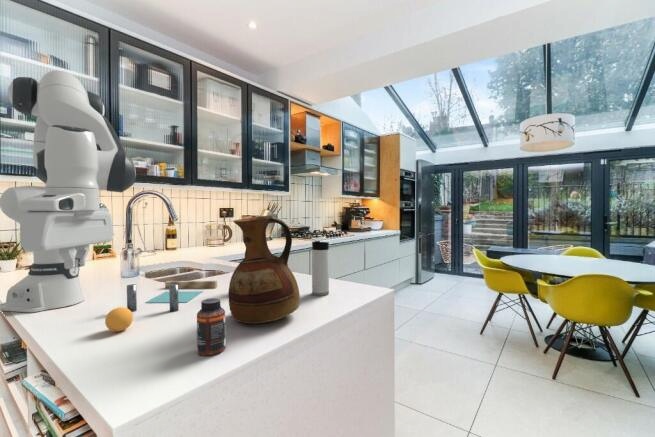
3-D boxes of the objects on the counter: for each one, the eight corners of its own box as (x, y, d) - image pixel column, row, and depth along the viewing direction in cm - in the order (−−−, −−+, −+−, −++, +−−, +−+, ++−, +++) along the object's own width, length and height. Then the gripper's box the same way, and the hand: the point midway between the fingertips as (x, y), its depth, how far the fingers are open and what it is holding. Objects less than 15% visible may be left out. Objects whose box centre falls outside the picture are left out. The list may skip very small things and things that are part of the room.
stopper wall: (165, 288, 124) (165, 282, 124) (167, 287, 126) (167, 281, 126) (215, 288, 124) (215, 281, 124) (217, 286, 126) (217, 280, 126)
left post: (125, 312, 95) (124, 286, 95) (130, 309, 98) (129, 284, 98) (133, 312, 95) (133, 286, 95) (138, 309, 98) (137, 284, 98)
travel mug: (308, 295, 114) (308, 240, 113) (316, 290, 120) (316, 239, 119) (324, 297, 111) (324, 241, 111) (331, 292, 118) (331, 239, 117)
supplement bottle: (231, 346, 71) (230, 297, 71) (213, 358, 65) (213, 305, 65) (209, 343, 73) (209, 295, 73) (191, 354, 67) (190, 302, 67)
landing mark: (144, 303, 105) (144, 302, 105) (165, 292, 119) (165, 291, 119) (186, 302, 105) (186, 302, 105) (202, 291, 119) (202, 291, 119)
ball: (99, 335, 78) (99, 311, 77) (115, 326, 84) (115, 304, 83) (124, 335, 78) (123, 311, 78) (138, 326, 84) (137, 304, 84)
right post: (168, 311, 96) (167, 286, 95) (172, 309, 98) (171, 284, 98) (176, 311, 96) (175, 285, 95) (180, 309, 98) (179, 284, 98)
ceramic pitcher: (225, 311, 95) (224, 214, 95) (288, 304, 103) (288, 214, 102) (232, 335, 77) (231, 215, 77) (309, 323, 85) (308, 215, 84)
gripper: (94, 203, 76) (95, 259, 76) (10, 201, 56) (13, 278, 56) (120, 203, 76) (121, 259, 77) (46, 201, 56) (48, 277, 56)
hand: (75, 267), depth 66 cm, fingers closed
